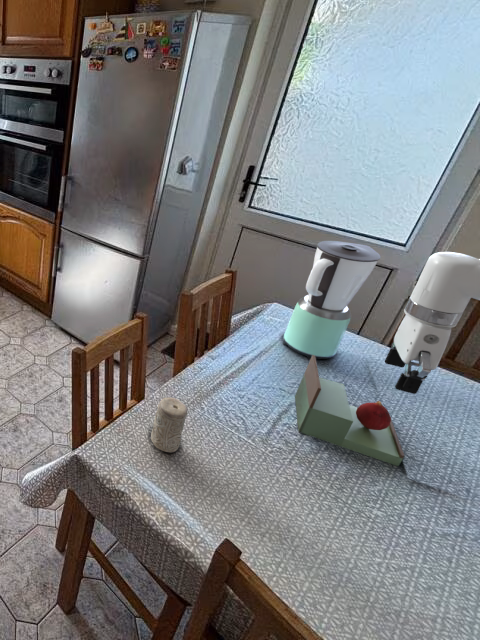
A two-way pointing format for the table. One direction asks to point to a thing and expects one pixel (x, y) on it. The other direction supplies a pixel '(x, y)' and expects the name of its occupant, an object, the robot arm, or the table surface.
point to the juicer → (329, 298)
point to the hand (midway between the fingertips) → (399, 377)
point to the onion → (373, 416)
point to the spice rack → (340, 419)
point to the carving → (168, 424)
